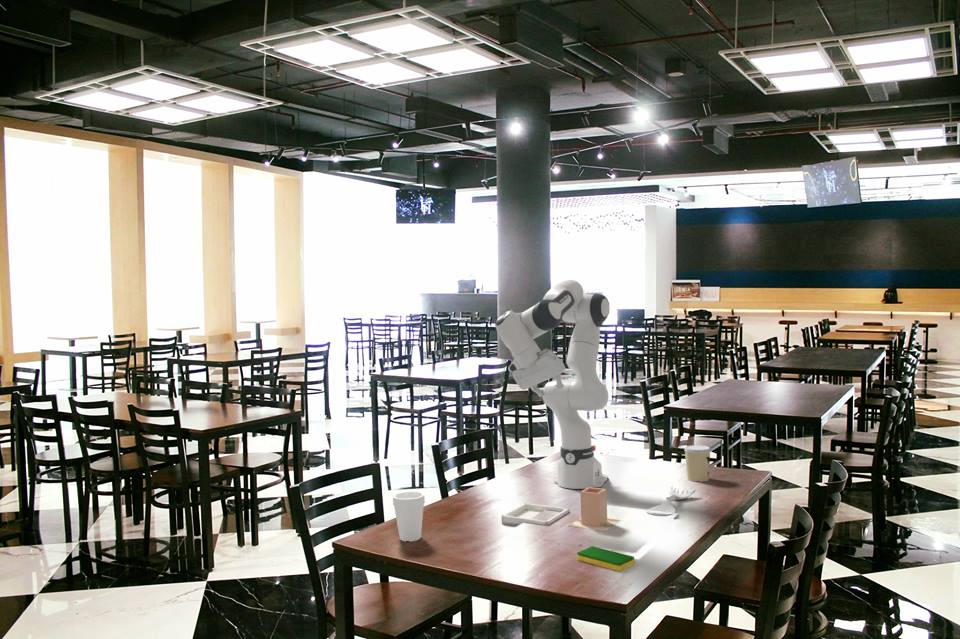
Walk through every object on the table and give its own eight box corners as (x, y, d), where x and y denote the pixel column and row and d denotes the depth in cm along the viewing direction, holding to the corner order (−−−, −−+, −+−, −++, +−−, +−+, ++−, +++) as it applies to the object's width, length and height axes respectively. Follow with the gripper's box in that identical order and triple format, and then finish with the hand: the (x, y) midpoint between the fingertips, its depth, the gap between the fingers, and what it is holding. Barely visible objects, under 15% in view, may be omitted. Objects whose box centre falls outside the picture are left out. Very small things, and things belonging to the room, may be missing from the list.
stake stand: (584, 520, 244) (583, 493, 244) (620, 524, 238) (619, 497, 238) (568, 530, 234) (567, 502, 234) (605, 536, 228) (604, 507, 227)
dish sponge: (619, 573, 199) (619, 563, 199) (576, 561, 209) (576, 552, 209) (635, 565, 204) (634, 556, 204) (592, 554, 214) (592, 545, 214)
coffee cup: (714, 482, 286) (713, 449, 285) (688, 482, 286) (687, 450, 285) (707, 476, 295) (706, 444, 295) (682, 476, 295) (681, 445, 295)
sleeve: (589, 519, 240) (588, 487, 240) (607, 521, 237) (606, 489, 236) (581, 524, 235) (580, 491, 234) (599, 526, 232) (598, 493, 231)
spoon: (696, 497, 267) (696, 487, 267) (670, 522, 239) (670, 511, 239) (671, 494, 271) (670, 484, 271) (642, 519, 244) (641, 508, 244)
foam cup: (399, 545, 226) (398, 501, 226) (390, 536, 235) (388, 493, 234) (430, 539, 230) (428, 496, 230) (420, 531, 238) (418, 489, 238)
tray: (525, 510, 257) (525, 503, 257) (569, 516, 249) (569, 508, 249) (501, 523, 244) (501, 515, 243) (547, 530, 235) (547, 522, 235)
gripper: (554, 342, 248) (578, 378, 248) (515, 361, 263) (537, 395, 264) (544, 351, 243) (567, 388, 244) (504, 370, 259) (527, 404, 259)
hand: (551, 391), depth 254 cm, fingers open, 8 cm apart
